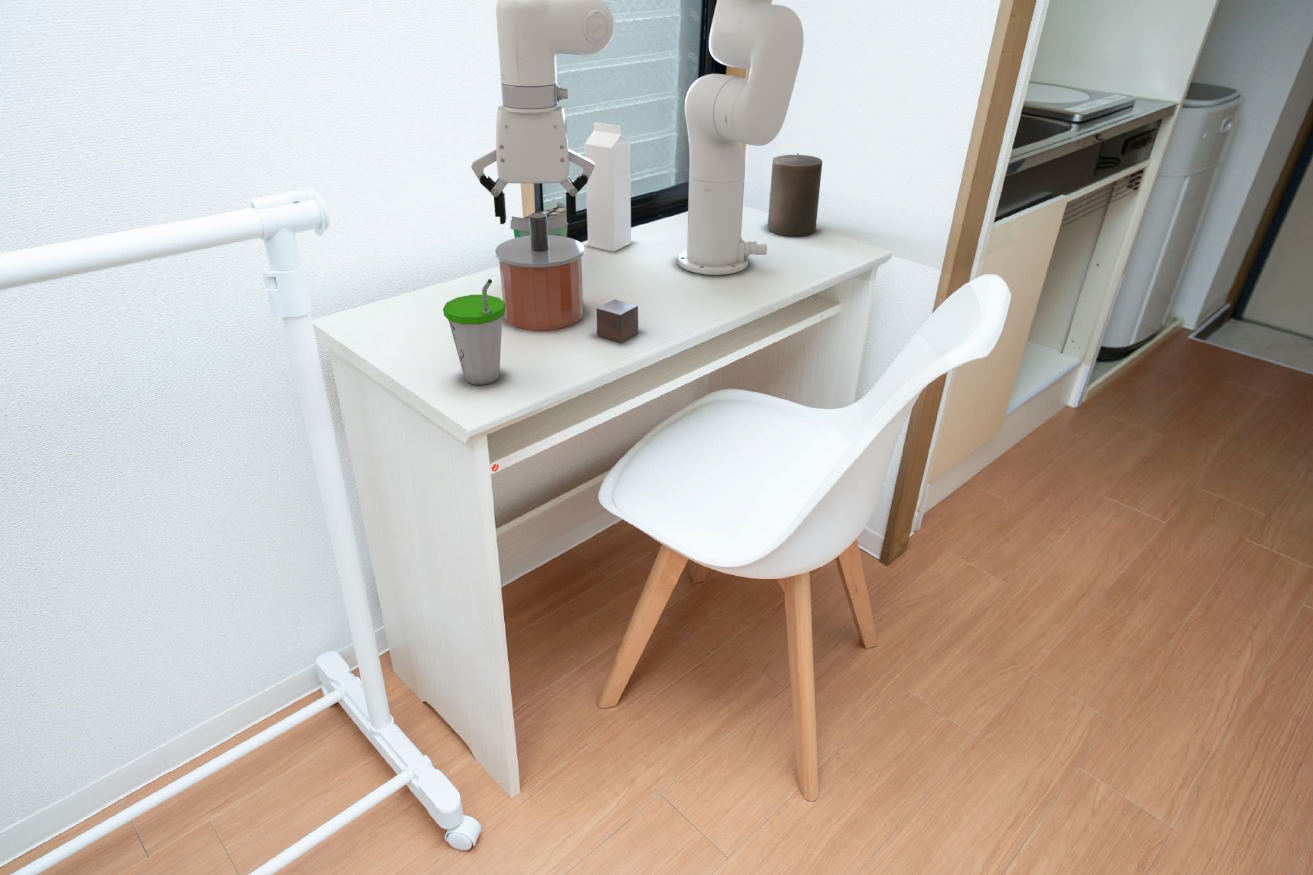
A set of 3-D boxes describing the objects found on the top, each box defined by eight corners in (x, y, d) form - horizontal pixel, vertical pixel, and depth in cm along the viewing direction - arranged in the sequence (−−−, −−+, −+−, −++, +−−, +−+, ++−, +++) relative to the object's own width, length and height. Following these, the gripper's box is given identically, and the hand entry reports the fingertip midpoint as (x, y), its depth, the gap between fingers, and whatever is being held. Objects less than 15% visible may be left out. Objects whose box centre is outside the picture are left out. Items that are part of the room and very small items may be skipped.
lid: (583, 241, 134) (581, 202, 130) (585, 270, 122) (584, 228, 119) (498, 243, 132) (495, 203, 129) (493, 272, 121) (489, 230, 118)
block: (614, 326, 129) (614, 299, 126) (638, 333, 126) (638, 305, 124) (597, 336, 125) (596, 308, 123) (620, 343, 123) (620, 315, 121)
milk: (613, 252, 158) (611, 129, 146) (587, 246, 161) (583, 124, 149) (631, 243, 162) (630, 123, 151) (605, 237, 165) (603, 119, 153)
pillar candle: (813, 238, 166) (822, 160, 158) (763, 234, 168) (769, 156, 160) (817, 224, 174) (825, 148, 166) (769, 220, 176) (775, 145, 168)
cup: (451, 367, 116) (438, 262, 108) (509, 362, 118) (499, 258, 110) (453, 393, 110) (438, 284, 102) (514, 387, 111) (504, 279, 103)
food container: (539, 281, 144) (535, 223, 139) (513, 273, 148) (509, 216, 142) (587, 262, 153) (585, 207, 148) (562, 255, 156) (559, 201, 151)
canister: (582, 298, 138) (579, 238, 133) (584, 329, 128) (581, 265, 122) (506, 300, 137) (501, 240, 132) (502, 331, 126) (496, 267, 121)
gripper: (592, 93, 120) (594, 213, 128) (467, 92, 118) (478, 214, 127) (594, 102, 113) (596, 228, 122) (462, 101, 112) (474, 229, 120)
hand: (536, 221), depth 124 cm, fingers open, 9 cm apart
